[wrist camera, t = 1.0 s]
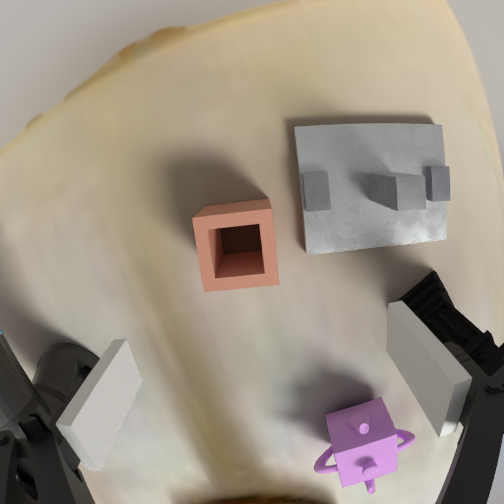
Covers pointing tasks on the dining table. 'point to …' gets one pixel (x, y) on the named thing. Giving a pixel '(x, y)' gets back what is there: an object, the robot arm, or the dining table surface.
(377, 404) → the teapot
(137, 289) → the dining table surface
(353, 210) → the stand
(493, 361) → the chess piece
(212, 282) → the box
